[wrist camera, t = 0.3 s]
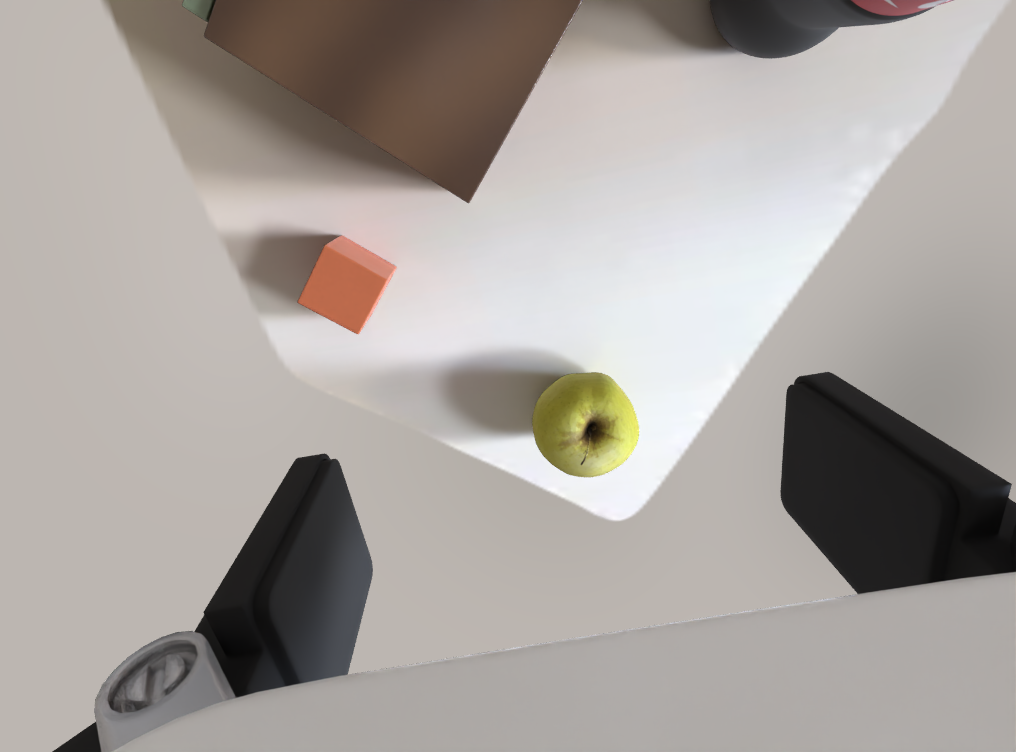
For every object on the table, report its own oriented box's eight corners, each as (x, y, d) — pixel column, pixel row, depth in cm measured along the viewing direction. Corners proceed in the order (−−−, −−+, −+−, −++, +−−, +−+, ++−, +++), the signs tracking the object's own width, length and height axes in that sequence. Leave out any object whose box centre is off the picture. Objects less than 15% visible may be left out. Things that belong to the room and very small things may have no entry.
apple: (601, 466, 46) (596, 523, 36) (525, 415, 46) (500, 459, 37) (656, 395, 43) (665, 436, 34) (575, 341, 44) (562, 367, 34)
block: (341, 234, 38) (324, 244, 34) (397, 266, 39) (387, 280, 35) (315, 287, 40) (296, 302, 35) (370, 316, 41) (358, 335, 36)
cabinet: (274, 66, 34) (202, 36, 25) (360, -149, 30) (310, -275, 21) (471, 191, 37) (468, 203, 29) (570, 13, 34) (603, -36, 25)
